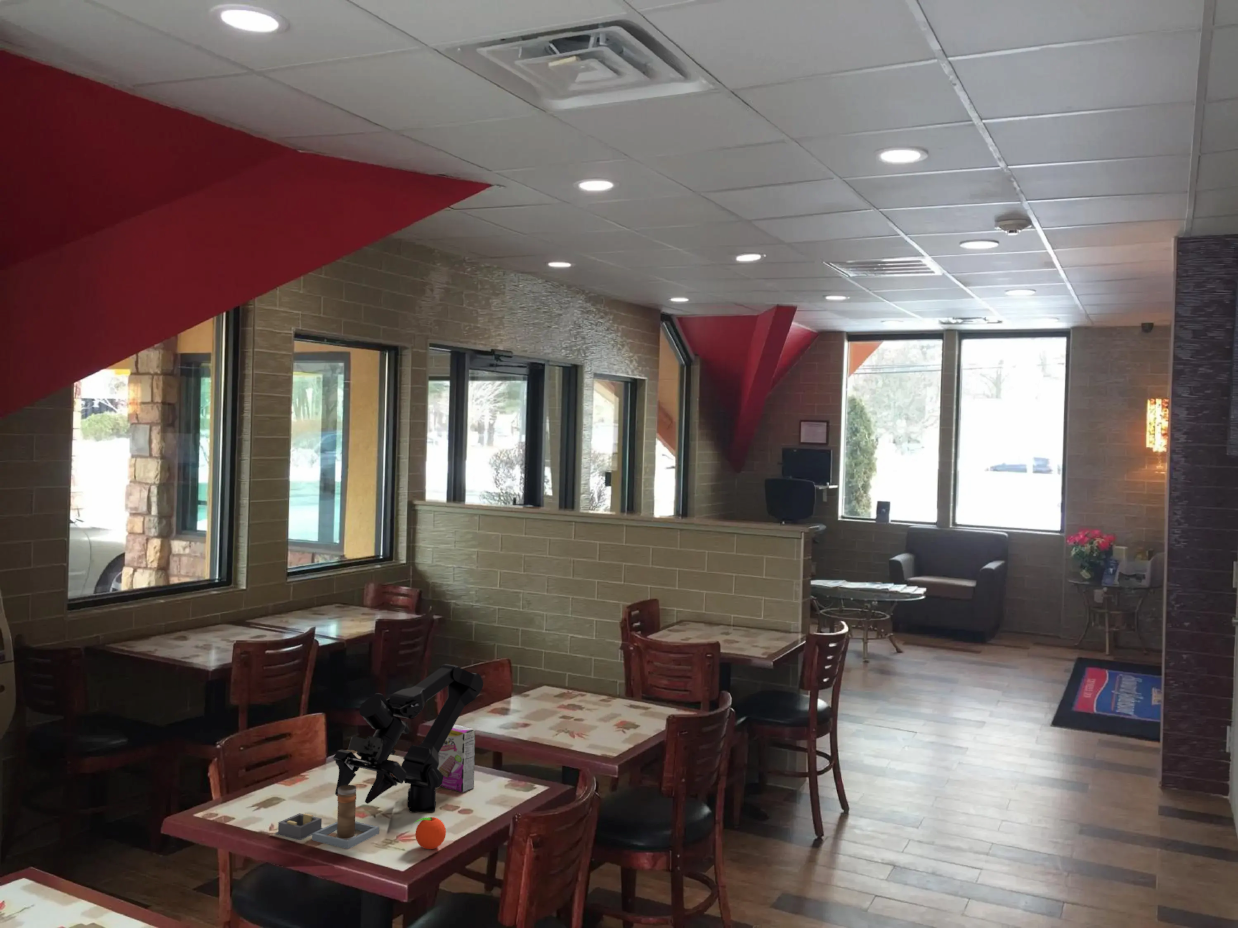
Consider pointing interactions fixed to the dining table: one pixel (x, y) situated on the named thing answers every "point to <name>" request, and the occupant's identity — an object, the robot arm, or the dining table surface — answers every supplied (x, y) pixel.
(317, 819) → the socket block
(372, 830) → the tray
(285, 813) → the dining table surface
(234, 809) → the dining table surface
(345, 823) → the peg
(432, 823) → the clementine
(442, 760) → the candy bar box
